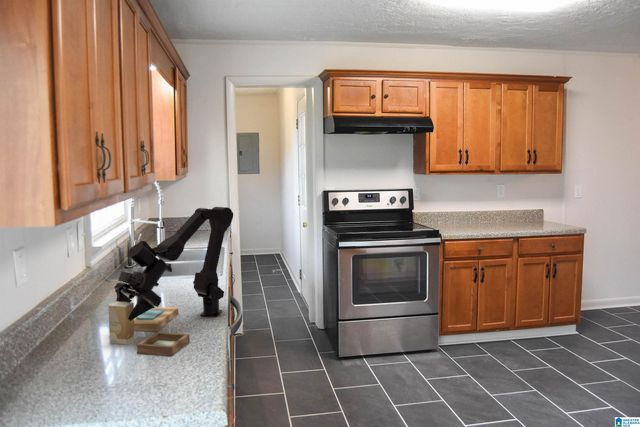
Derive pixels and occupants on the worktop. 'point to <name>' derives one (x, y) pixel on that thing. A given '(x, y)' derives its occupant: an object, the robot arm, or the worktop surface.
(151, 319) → the shallow wooden box
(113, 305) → the skincare box
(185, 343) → the tray
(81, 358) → the worktop surface
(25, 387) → the worktop surface
